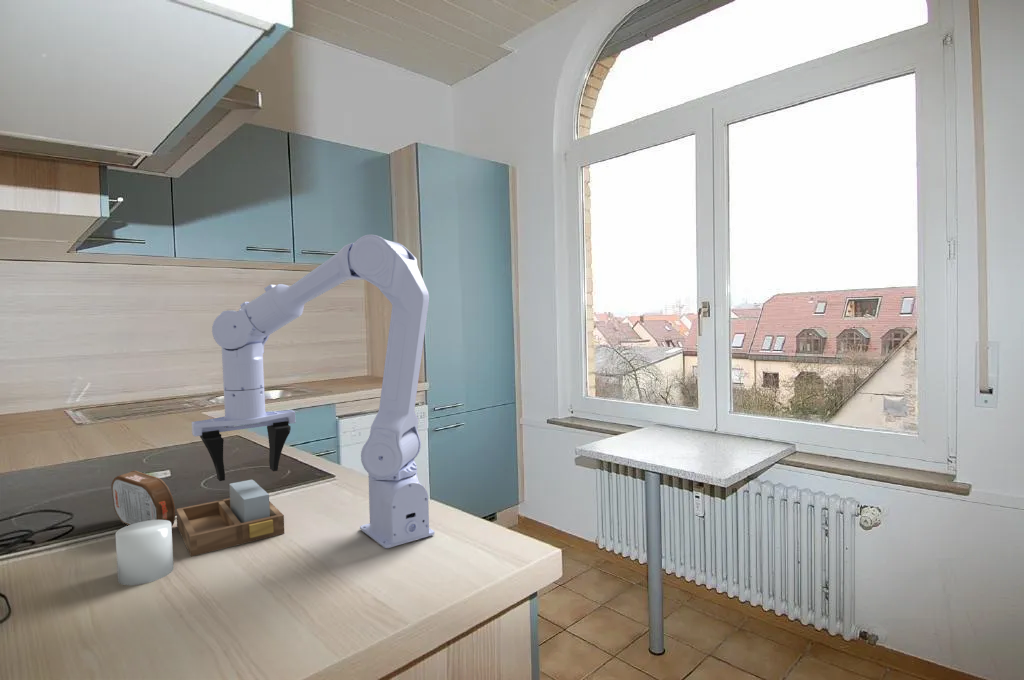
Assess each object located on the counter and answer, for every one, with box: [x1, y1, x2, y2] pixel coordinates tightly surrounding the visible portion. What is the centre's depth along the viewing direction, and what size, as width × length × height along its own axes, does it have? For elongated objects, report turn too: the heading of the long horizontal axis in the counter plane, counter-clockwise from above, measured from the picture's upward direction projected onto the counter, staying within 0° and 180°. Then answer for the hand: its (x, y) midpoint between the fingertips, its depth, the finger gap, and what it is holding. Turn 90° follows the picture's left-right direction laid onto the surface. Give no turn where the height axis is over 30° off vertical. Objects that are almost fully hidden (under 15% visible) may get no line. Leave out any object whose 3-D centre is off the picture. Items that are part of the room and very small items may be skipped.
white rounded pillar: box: [115, 520, 175, 586], centre depth 72 cm, size 6×6×6 cm
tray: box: [175, 497, 285, 557], centre depth 86 cm, size 15×12×3 cm
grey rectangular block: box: [228, 479, 270, 523], centre depth 88 cm, size 10×4×5 cm, turn 38°
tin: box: [110, 470, 176, 527], centre depth 87 cm, size 15×3×8 cm, turn 58°
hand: (248, 474), depth 87 cm, fingers open, 7 cm apart
